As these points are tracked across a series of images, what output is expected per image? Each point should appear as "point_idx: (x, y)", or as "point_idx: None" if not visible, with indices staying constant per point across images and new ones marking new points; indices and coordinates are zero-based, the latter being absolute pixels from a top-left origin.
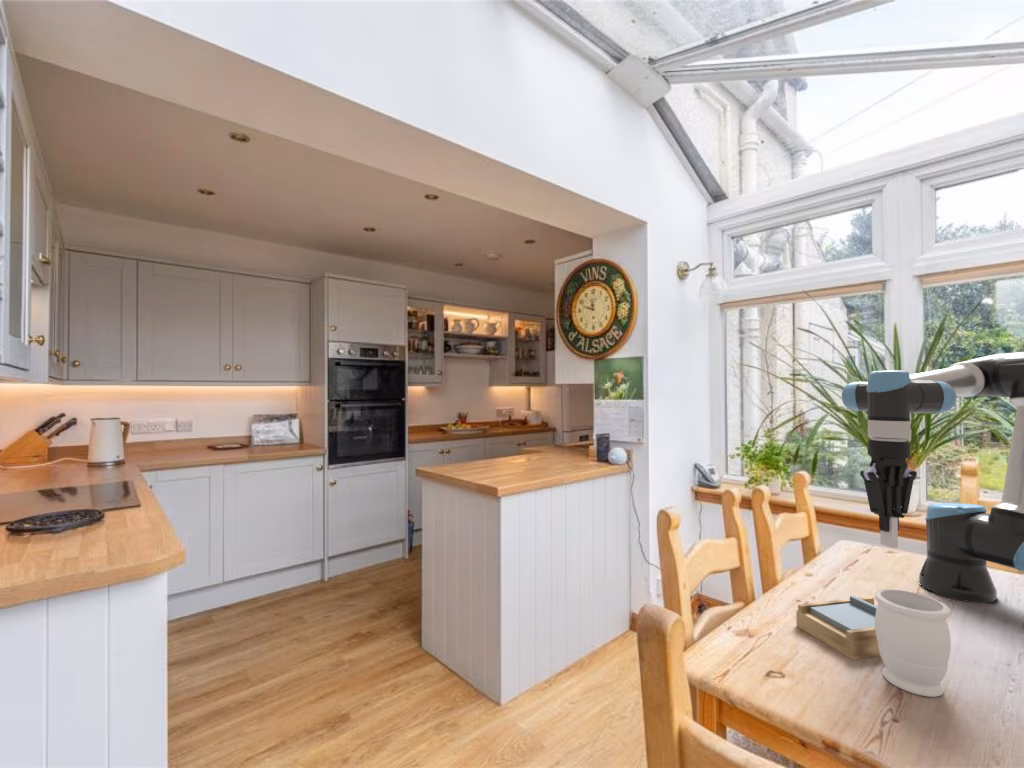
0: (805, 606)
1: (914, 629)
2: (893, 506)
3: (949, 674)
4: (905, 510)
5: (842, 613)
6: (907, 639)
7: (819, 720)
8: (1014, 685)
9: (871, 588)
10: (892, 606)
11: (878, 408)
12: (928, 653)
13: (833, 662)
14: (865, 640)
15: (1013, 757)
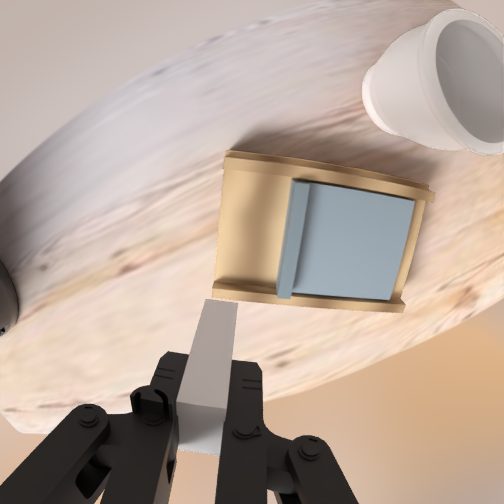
0: (397, 303)
1: (492, 63)
2: (162, 478)
3: (307, 82)
4: (89, 422)
5: (360, 260)
6: (484, 75)
7: None
8: (235, 28)
9: (95, 350)
10: None
11: None
12: (457, 51)
13: (444, 188)
14: (403, 179)
15: None
